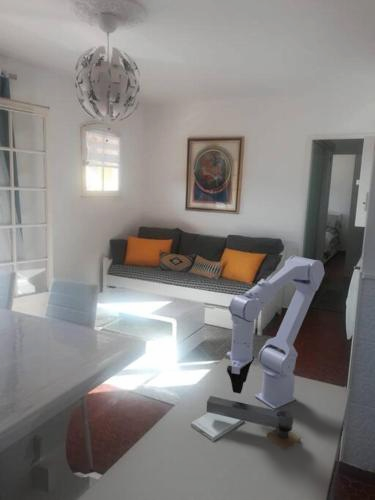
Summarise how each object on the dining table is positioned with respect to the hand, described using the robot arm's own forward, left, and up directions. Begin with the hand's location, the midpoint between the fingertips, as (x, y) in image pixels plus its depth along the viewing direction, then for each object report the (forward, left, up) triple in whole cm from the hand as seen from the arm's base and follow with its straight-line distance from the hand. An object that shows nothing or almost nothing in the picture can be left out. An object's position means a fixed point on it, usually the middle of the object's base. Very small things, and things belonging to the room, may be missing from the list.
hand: (239, 386), depth 105 cm
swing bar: (+3, +7, -5) cm, 9 cm away
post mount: (-2, +14, -8) cm, 17 cm away
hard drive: (+7, 0, -9) cm, 12 cm away
